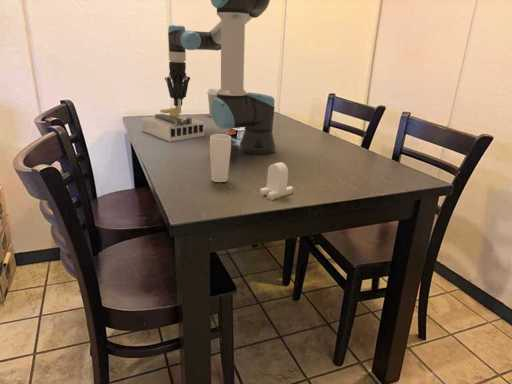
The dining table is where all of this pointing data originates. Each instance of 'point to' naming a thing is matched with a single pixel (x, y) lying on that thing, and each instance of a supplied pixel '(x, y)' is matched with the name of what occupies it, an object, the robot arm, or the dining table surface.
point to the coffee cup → (212, 97)
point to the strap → (171, 118)
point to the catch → (172, 112)
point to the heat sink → (173, 128)
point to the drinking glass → (220, 156)
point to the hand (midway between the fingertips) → (178, 112)
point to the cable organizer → (277, 180)
